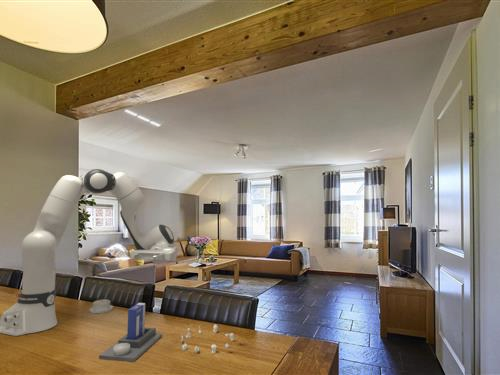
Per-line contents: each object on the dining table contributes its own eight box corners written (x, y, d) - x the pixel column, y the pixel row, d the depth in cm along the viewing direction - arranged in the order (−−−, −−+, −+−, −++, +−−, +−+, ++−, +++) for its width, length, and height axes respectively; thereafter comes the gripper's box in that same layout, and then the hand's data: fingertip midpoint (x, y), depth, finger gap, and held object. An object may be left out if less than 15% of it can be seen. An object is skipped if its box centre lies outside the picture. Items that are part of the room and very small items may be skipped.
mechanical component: (84, 313, 141) (103, 314, 139) (85, 303, 141) (104, 304, 139) (99, 306, 150) (117, 308, 148) (99, 297, 151) (117, 298, 149)
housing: (98, 358, 96) (99, 348, 97) (132, 334, 116) (132, 325, 116) (133, 361, 95) (134, 351, 95) (162, 336, 114) (162, 327, 114)
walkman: (134, 344, 105) (135, 308, 106) (126, 344, 105) (128, 308, 106) (144, 335, 112) (145, 302, 113) (137, 335, 113) (138, 301, 114)
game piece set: (202, 328, 123) (202, 318, 123) (244, 339, 113) (244, 328, 113) (166, 346, 106) (167, 335, 107) (212, 361, 96) (212, 348, 96)
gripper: (139, 246, 145) (122, 249, 131) (179, 247, 142) (167, 250, 128) (138, 259, 144) (121, 264, 131) (179, 261, 141) (166, 266, 128)
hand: (144, 257), depth 129 cm, fingers open, 8 cm apart
